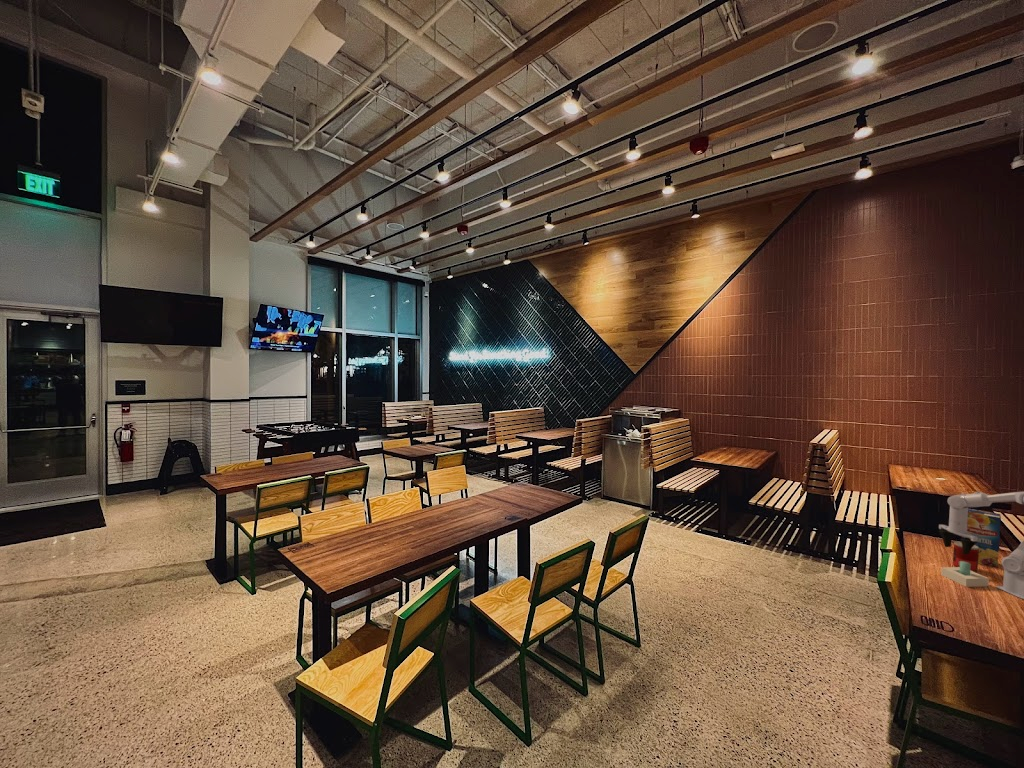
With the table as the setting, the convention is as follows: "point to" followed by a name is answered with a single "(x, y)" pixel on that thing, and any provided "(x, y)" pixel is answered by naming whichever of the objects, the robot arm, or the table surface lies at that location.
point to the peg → (965, 568)
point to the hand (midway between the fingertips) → (956, 550)
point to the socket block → (964, 577)
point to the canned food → (965, 556)
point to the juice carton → (985, 535)
